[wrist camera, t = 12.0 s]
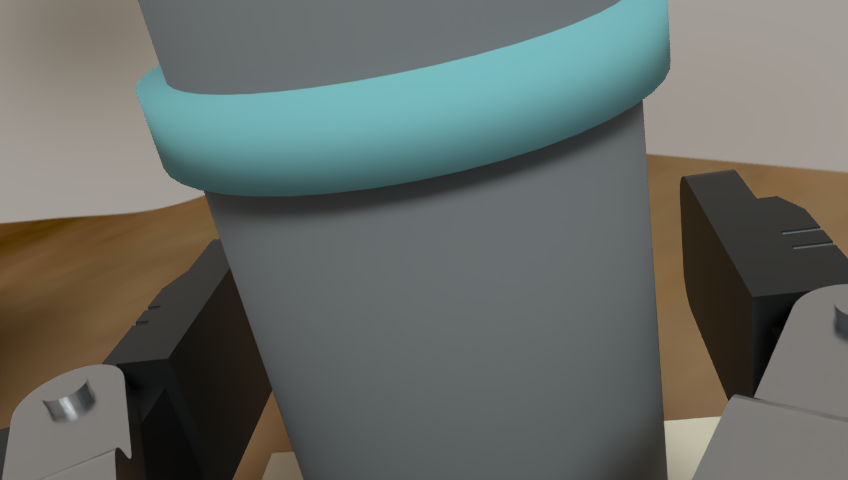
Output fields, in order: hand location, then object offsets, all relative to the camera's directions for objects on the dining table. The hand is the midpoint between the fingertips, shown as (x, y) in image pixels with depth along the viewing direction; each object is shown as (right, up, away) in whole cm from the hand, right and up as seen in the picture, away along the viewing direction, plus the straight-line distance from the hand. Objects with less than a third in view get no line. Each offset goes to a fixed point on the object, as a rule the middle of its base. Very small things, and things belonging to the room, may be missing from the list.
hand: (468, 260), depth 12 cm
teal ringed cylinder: (+1, -8, +1) cm, 8 cm away
